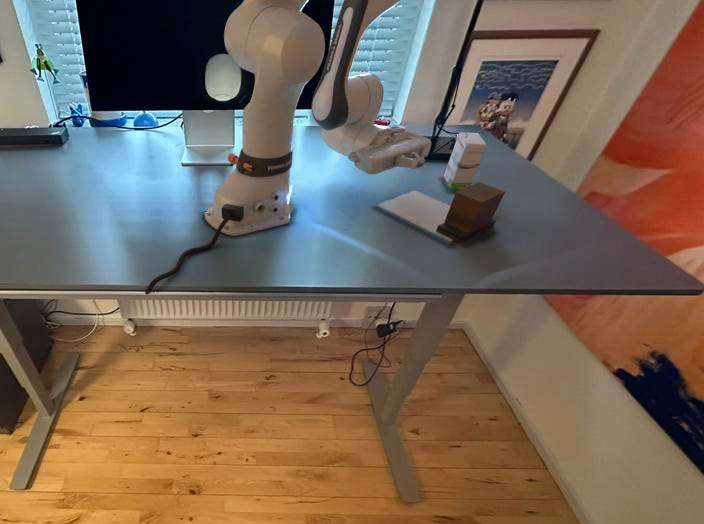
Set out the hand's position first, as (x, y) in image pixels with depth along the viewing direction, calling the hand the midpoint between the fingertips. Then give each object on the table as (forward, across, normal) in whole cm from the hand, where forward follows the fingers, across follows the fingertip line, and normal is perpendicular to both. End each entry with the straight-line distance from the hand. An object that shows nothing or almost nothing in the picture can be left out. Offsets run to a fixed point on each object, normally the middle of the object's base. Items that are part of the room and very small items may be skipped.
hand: (420, 164), depth 94 cm
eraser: (+15, 0, +9) cm, 18 cm away
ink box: (0, +20, +10) cm, 22 cm away
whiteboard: (+6, 0, +10) cm, 12 cm away
